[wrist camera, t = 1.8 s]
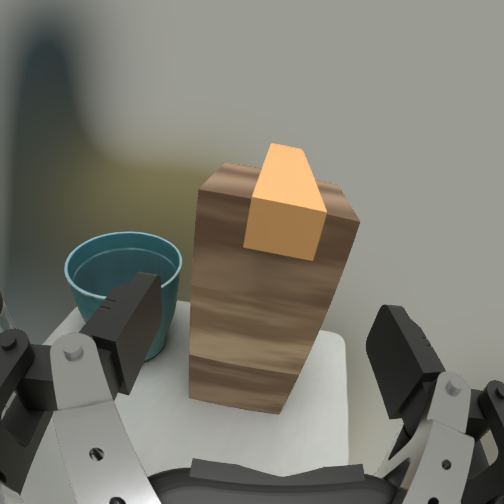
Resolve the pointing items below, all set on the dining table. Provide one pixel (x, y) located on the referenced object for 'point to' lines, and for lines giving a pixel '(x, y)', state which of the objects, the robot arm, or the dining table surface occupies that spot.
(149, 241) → the flower pot
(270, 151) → the light orange bar
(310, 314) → the block tower
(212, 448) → the dining table surface
